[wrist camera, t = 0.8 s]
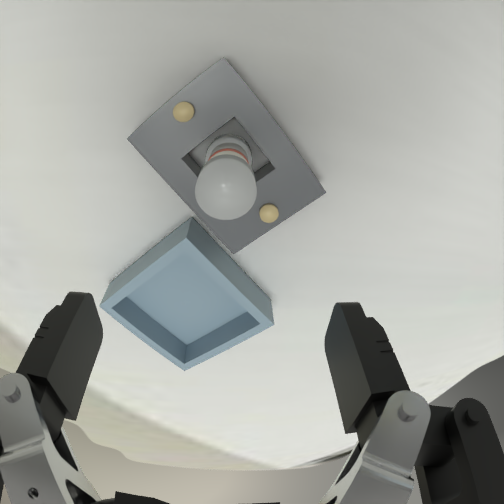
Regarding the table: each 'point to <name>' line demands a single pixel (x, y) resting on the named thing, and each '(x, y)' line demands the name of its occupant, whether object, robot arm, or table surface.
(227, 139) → the cylinder
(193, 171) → the fuse block
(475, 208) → the table surface
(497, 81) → the table surface
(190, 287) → the parts tray
